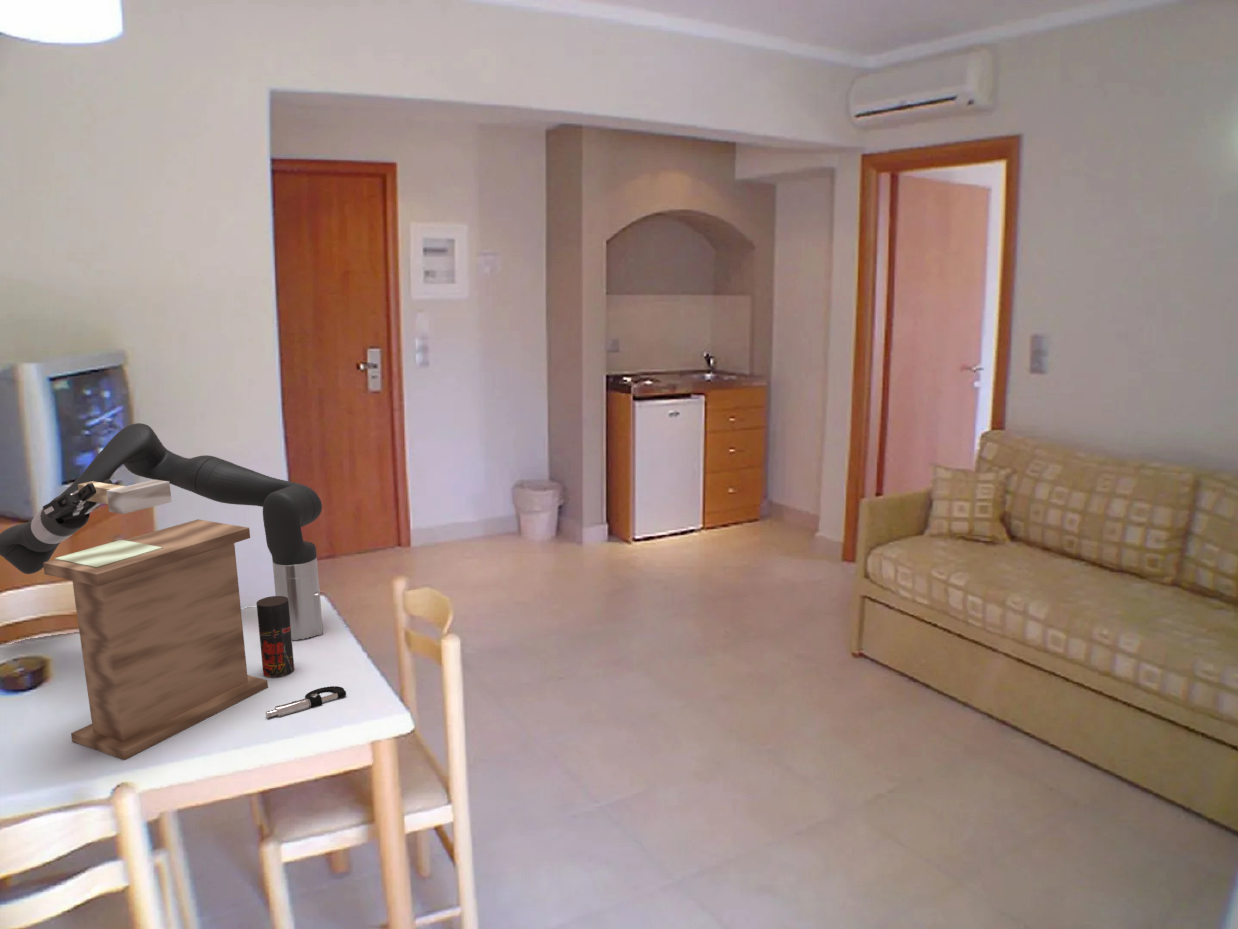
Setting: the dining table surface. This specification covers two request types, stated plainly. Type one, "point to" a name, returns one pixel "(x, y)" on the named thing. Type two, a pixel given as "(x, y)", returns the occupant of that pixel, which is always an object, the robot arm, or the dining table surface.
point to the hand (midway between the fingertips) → (101, 485)
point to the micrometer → (307, 701)
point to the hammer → (131, 495)
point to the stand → (158, 633)
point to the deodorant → (275, 636)
